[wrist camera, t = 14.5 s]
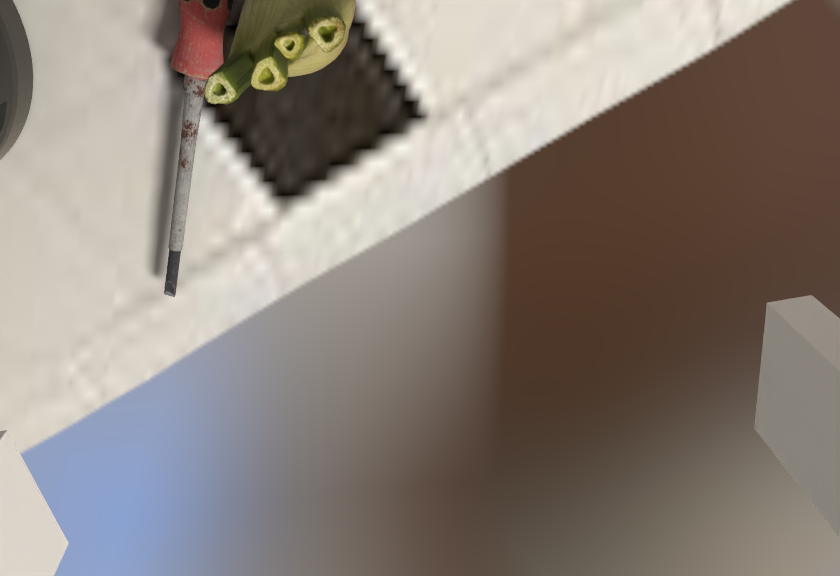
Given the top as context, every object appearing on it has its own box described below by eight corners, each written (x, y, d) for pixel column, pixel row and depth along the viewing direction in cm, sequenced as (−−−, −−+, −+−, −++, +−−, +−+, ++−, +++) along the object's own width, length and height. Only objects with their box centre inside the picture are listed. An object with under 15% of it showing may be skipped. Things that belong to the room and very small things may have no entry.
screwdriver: (200, 288, 43) (189, 312, 40) (150, 278, 42) (136, 303, 40) (268, -181, 32) (259, -190, 29) (202, -202, 32) (187, -214, 29)
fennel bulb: (246, 64, 37) (201, 124, 26) (236, -39, 35) (182, -20, 24) (357, 64, 37) (357, 123, 27) (354, -38, 35) (354, -18, 24)
